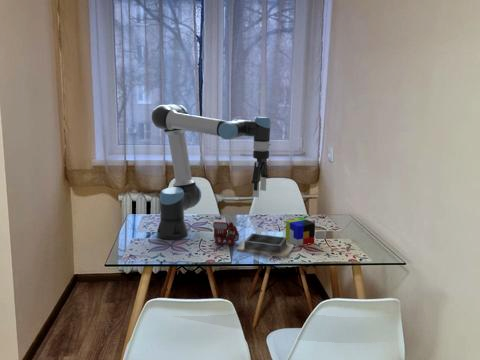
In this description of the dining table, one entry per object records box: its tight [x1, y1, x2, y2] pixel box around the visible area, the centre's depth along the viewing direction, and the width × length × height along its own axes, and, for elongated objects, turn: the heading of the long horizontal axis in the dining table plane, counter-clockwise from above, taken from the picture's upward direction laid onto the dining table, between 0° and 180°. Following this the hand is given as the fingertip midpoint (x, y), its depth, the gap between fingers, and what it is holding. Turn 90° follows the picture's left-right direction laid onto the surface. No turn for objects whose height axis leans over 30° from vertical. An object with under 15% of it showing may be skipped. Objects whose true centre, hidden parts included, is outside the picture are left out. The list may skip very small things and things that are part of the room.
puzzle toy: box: [285, 217, 316, 247], centre depth 217 cm, size 10×10×10 cm
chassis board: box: [235, 232, 295, 258], centre depth 207 cm, size 24×14×4 cm, turn 71°
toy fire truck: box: [212, 221, 240, 246], centre depth 213 cm, size 7×12×10 cm, turn 83°
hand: (259, 193), depth 214 cm, fingers open, 13 cm apart
